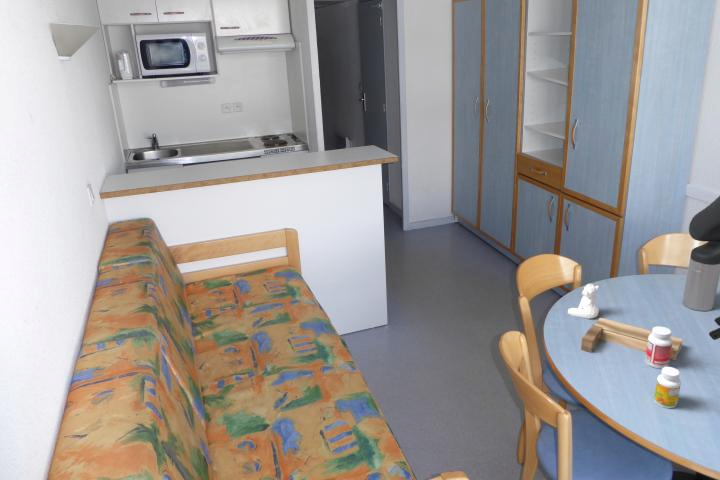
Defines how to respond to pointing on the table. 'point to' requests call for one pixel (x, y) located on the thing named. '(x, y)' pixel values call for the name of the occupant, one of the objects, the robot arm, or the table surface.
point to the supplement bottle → (667, 388)
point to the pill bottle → (659, 347)
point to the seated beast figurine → (586, 304)
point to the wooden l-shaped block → (622, 337)
